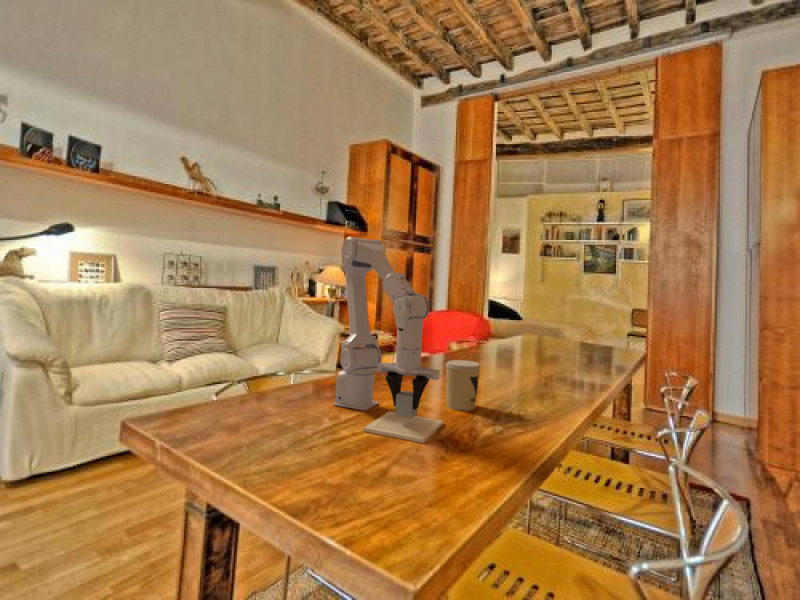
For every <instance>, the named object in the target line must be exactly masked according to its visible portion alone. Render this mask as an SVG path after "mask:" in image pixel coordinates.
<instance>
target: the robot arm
mask: <svg viewBox="0 0 800 600" xmlns="http://www.w3.org/2000/svg"><path fill="white" fill-rule="evenodd" d="M340 252H341V265H342V270H343V271H344V272H345V273H344V274H345V286H346V287H345V288H346V298H347V299H346V300H347V311H348V312H347V313H348V323H349V325H348V326H349V336H348V337H347V338H346V339H345V340H344V341H343V342H342V343H341V353H340V357H339V360H340V366H341V367H342V370H340V371H339V372H338V374H337V378H336V382H335V383H336V384H335V402H334V403H333V405H334V406H338V407H343V408H347V409H348V408H350V409H352V410H353V409H354V410H360V411H368V410H369V409H371V408H373V407H375V406H376V405H378V404H379V401H377V400H374V385H375V384H374V383H375V373H386V375H385V382H386V383H387V385H388V387H389V390H390V393H391V397H392V402H393V407H396V394H397V393H399V392H401V391H402V382H403V376H408V377H415V378H413V379H411V382H412V392H413V409H417V408H418V409H419V405H420V402H421V398H422V395H423V393H424V391H425V388H426V386H427V384H428V383H429V381H430V379H431V380H433V381H437V380H440V375H441V374H440V373H441V370H440V369H435V368H429V367H426V366H422V365H421V364H422V347H423V331H424V330H423V329H424V320H426V318H427V317H428V315H429V313H430V302H429V301H428V299H427V297H426V295H423V294H419V293H418V292H416V291H415V289H414V288H413V286H412V285H411V284H410V282H408V280H407V278H406V275H405V274H404V273H401V272H396V271H395V269H394V268H393V266H392V265H391V263H390V261H389V259H388V258H387V256H386V246H385V245H384V244H383V242H382V241H381V240H380V239H371V238H370V239H369V238H361V237H354V236H348V237H346V238H345V239H344V241H343V244H342V245H341V248H340ZM372 271H374V272H376V274H377V275H378V276H379V277H380V278H381V280H383V281H382V284H381V285H382V289H383V290H384V292H385V293H386V295H387V297H388V298H389V299H390V301H391V302H392V304H393V306H392V311H393V312H392V313H393V316H394V318H395V323H394V324H395V327H396V328H397V331H396V332H397V334H396V335H397V336H396V352H395V353H396V354H395V363H390V362H389V363H388V362H382V361H383V355H382V351H381V348H380V347H379V341H378V339H376V338H375V336H373V335H372V334H371V331H370V329H371V328H370V318H369V309H368V307H369V306H368V305H369V304H368V297H367V294H368V293H367V285H366V276H367V274H368V273H371V272H372Z"/></svg>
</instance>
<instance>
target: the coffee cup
mask: <svg viewBox="0 0 800 600" xmlns="http://www.w3.org/2000/svg"><path fill="white" fill-rule="evenodd" d="M445 367H446V368H445V373H446V374H445V385H446V387H445V388H446V389H445V391H446V399H445V400H446V407H447V408H449V409H452V410H456V411H472V410H474V409H475V408H476V402H477V401H476V400H477V393H478V387H479V379H480V370H481V366H480V363H478V362H477V361H473V360H465V359H451V360H448V361H446V363H445Z"/></svg>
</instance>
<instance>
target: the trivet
mask: <svg viewBox="0 0 800 600" xmlns="http://www.w3.org/2000/svg"><path fill="white" fill-rule="evenodd" d="M443 424H444V420H442V419H436V418H435V419H434V418H431V417H424V416H419V415H416V416H414V417H413V418H412V419H411V418H405V417H399V416H395V411H391V410H389V411H387V412H386V413H385V414H383V415H381V416H379V417H378V418H377V419H375V420H374V421H372V422H371V423H369V424H367V425H366V426H364V427H363V432H365V433H371V434H376V435H381V436H385V437H386V436H387V437H390V438H396V439H402V440H406V441H411V442H417V443H422V444H425V443H426V442H427V441H428V439H429V438H430V437H432V436H433V434H435V432H436V431H437V430H439V429H440V427H442V425H443Z"/></svg>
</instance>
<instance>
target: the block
mask: <svg viewBox="0 0 800 600" xmlns="http://www.w3.org/2000/svg"><path fill="white" fill-rule="evenodd" d="M394 412H395V416H399V417H405V418H411V419H412V418H413V417H414V416H418V413H419V407H418V408H417V409H413V391H408V390H401V392H399V393H397V394H396V406H395V410H394Z"/></svg>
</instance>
